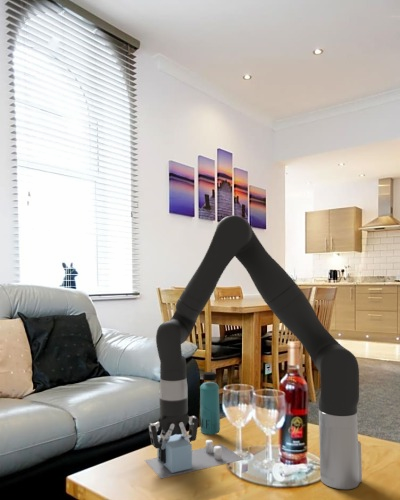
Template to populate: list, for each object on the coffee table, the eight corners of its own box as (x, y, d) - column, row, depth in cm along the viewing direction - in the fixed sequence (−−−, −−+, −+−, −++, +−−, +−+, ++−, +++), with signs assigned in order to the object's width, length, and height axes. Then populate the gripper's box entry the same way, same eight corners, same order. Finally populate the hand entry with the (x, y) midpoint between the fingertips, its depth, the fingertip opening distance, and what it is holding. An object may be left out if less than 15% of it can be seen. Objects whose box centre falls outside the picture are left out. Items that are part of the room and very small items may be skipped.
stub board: (221, 449, 129) (221, 433, 129) (243, 464, 118) (243, 447, 118) (144, 465, 118) (144, 448, 118) (161, 484, 107) (161, 466, 107)
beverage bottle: (222, 433, 142) (221, 370, 143) (217, 440, 135) (216, 375, 136) (203, 431, 143) (202, 369, 145) (197, 438, 137) (196, 374, 138)
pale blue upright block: (176, 454, 121) (176, 432, 121) (191, 468, 112) (191, 444, 112) (157, 458, 119) (157, 435, 119) (171, 472, 110) (171, 448, 110)
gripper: (153, 402, 110) (153, 471, 109) (203, 395, 116) (204, 460, 115) (143, 395, 116) (143, 460, 116) (191, 388, 123) (192, 449, 122)
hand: (174, 459), depth 115 cm, fingers closed on pale blue upright block, 5 cm apart
